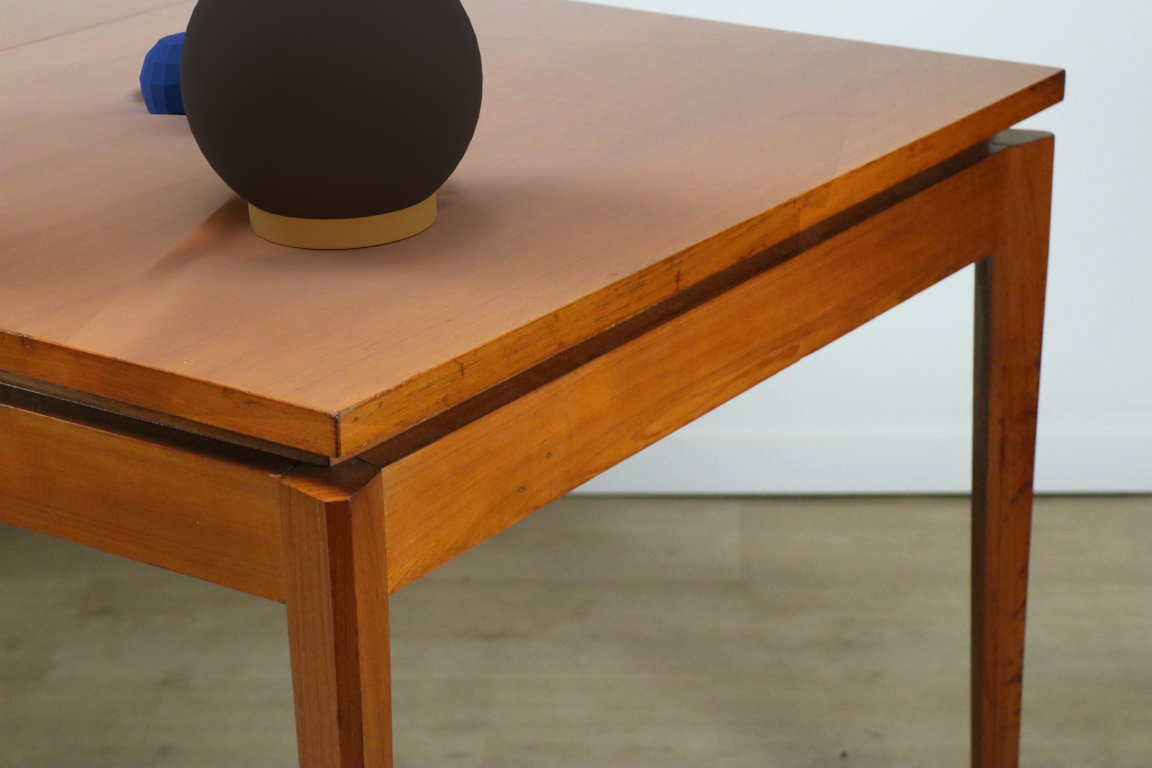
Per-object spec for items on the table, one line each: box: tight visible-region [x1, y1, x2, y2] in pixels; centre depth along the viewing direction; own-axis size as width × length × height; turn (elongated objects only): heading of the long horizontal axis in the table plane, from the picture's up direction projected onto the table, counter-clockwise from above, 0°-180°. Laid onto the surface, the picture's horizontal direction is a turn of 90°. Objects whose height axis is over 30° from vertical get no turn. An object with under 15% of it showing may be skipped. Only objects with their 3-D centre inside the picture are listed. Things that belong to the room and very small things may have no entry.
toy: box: [138, 31, 186, 116], centre depth 89 cm, size 7×6×15 cm
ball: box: [180, 0, 484, 250], centre depth 71 cm, size 14×14×14 cm
